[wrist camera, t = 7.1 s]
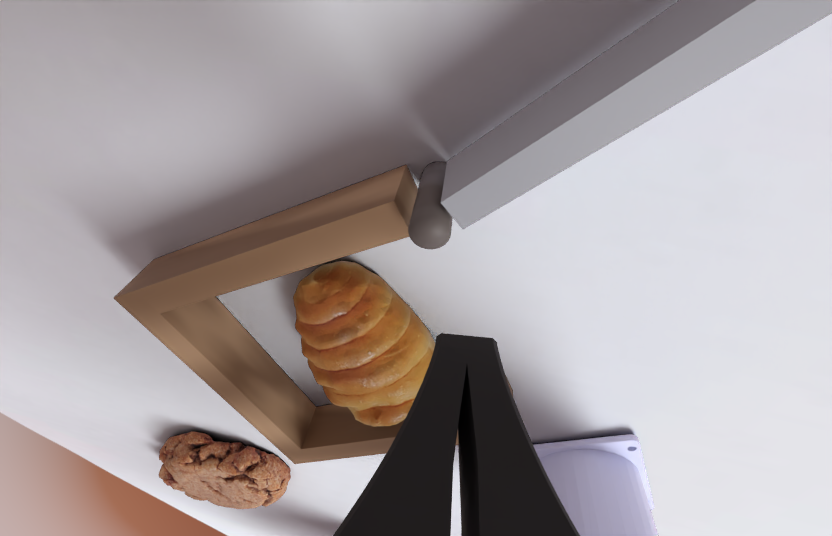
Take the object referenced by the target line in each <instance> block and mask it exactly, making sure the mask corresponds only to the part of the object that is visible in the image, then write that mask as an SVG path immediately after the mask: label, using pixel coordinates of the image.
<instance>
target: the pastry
mask: <svg viewBox="0 0 832 536" xmlns="http://www.w3.org/2000/svg"><path fill="white" fill-rule="evenodd" d="M293 300H294V305H295V308H296V316H297V319H296V323H295V328H296V330H297V331H298V332H299V333H300V334H301V336H302V338H301V344H302V353H303V355H304V356H305V357H307V358H308V365H309V367H310V369H311V371H312V373H313V375H314V378H315V380H316V382H317V384H320V385H322V386H323V390H324V392H325V394H326V396H327V398H328V399H329V400H330V401H331V403H332V404H334V405H337V406H341V407H348V408H349V409H350V410H351V412H352V413H353V415H354V417H355V419H356V420H357V421H359V422H361V423H363V424H366V425H371V426H373V427H376V426H391V425H395V424H398V423H399V422H401V421H403V420H404V419H405V418H406V416H407V414H408V412H409V410H410V408H411V406H412V404H413V402H414V400H415V397H416V395H417V393H418V391H419V388H420V386H421V384H422V382H423V379H424V377H425V374H426V372H427V369H428V366H429V364H430V361H431V358H432V355H433V351H434V347H435V342H434V340H433V338H432V336H431V333H430V331H429V330H428V329H427V328H426V326H425V325H424V324H423V323H422V322H421V320H420V318H419V317H418V316H416V315H415V313H414V312H413V310H412V309H411V308H410V307H409V306H408V305H407V304H406V303H405V302H404V301H403V300H402V299H401V298H400V297H399V296H398V295H397V293H396V292H395V291H394V290H393V289H392V288H391V287H390V286H389V285H388V284H387V283H386V282H385V281H384V280H383V279H382V278H381V277H380V276H378V275H376V274H374V273H372V272H370V271H369V270H367V269H365V268H364V267H362V266H361V265H359V264H358V263H355V262H347V261H338V262H334V263H330V264H325V265H322V266H320V267H318V268H317V269H315V270H314V271H313V272H312V273H311V274H309V275H308V276H307V277H305V278H304V279H302V280H301V281H300V283H299V285H298V287H297V289H296V292H295V294H294V296H293Z"/></svg>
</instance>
